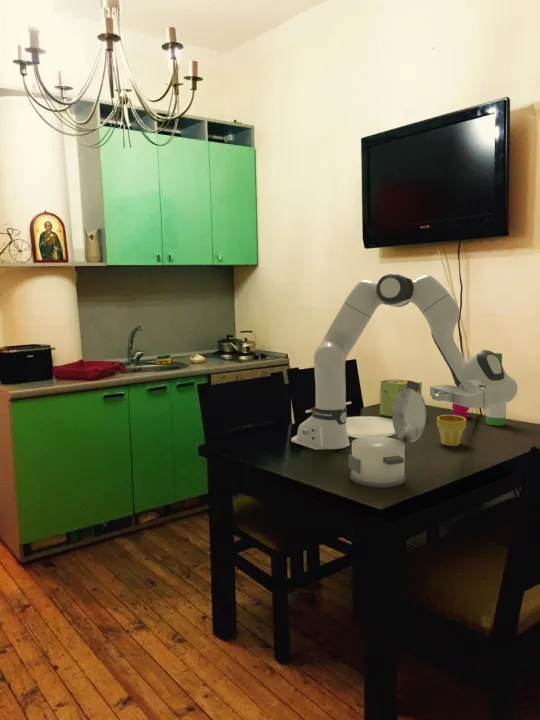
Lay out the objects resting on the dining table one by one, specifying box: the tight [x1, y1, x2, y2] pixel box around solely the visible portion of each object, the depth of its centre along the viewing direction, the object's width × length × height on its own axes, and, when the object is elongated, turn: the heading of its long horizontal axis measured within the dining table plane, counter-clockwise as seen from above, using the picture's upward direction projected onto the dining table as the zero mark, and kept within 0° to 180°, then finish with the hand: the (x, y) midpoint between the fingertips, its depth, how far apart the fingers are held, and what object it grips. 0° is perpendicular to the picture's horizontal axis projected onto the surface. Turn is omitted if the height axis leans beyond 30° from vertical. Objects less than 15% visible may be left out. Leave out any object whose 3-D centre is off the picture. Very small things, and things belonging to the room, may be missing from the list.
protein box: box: [379, 378, 423, 417], centre depth 260 cm, size 10×15×16 cm
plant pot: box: [436, 414, 467, 447], centre depth 214 cm, size 10×10×10 cm
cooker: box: [348, 436, 412, 489], centre depth 178 cm, size 18×21×11 cm
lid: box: [391, 379, 427, 443], centre depth 179 cm, size 19×17×2 cm
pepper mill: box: [451, 382, 470, 419], centre depth 255 cm, size 7×7×20 cm
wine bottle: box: [485, 352, 507, 427], centre depth 240 cm, size 8×8×30 cm
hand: (434, 397), depth 181 cm, fingers closed
